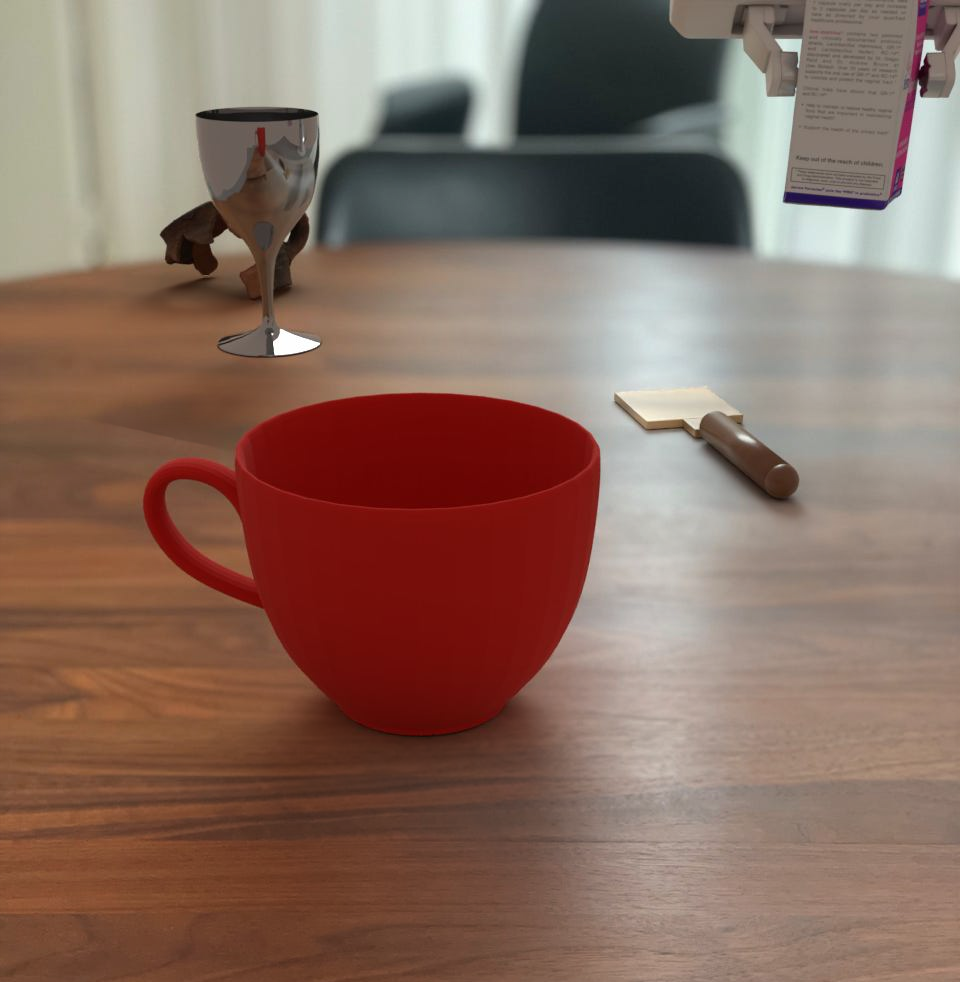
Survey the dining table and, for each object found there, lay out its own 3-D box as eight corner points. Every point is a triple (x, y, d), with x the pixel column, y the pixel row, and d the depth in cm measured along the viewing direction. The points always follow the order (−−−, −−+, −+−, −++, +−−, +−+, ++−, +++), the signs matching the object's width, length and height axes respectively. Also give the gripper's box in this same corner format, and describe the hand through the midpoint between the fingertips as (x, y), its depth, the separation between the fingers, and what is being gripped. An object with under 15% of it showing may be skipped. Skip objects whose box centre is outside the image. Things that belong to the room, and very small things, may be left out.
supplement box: (889, 212, 81) (917, -20, 76) (780, 204, 83) (801, -23, 78) (907, 195, 85) (934, -24, 80) (803, 188, 88) (824, -27, 82)
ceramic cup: (216, 604, 65) (198, 378, 60) (607, 634, 62) (617, 401, 58) (97, 754, 53) (63, 488, 49) (570, 799, 51) (580, 523, 46)
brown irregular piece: (227, 314, 112) (171, 213, 111) (186, 344, 121) (133, 250, 119) (351, 252, 118) (299, 155, 116) (303, 284, 126) (254, 194, 124)
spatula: (613, 400, 92) (614, 371, 91) (705, 393, 93) (707, 365, 92) (731, 508, 75) (734, 474, 75) (841, 498, 77) (845, 465, 76)
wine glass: (279, 364, 99) (266, 125, 92) (187, 346, 102) (168, 115, 96) (350, 338, 105) (343, 112, 98) (261, 322, 108) (248, 103, 102)
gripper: (668, -158, 82) (676, 48, 78) (1040, -156, 82) (1069, 50, 78) (655, -69, 88) (662, 126, 84) (1002, -67, 88) (1028, 129, 84)
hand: (861, 90), depth 81 cm, fingers closed on supplement box, 7 cm apart
